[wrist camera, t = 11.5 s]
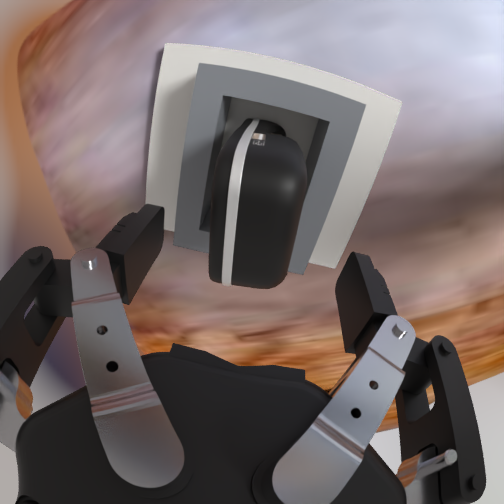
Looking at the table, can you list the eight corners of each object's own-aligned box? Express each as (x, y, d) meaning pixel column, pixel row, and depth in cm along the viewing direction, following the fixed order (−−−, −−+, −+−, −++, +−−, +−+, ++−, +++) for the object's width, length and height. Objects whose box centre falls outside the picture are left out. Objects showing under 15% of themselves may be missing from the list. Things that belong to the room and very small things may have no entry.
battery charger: (283, 206, 23) (286, 310, 13) (236, 199, 23) (206, 299, 13) (298, 121, 19) (322, 166, 9) (245, 113, 19) (212, 150, 9)
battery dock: (397, 100, 17) (426, 108, 13) (333, 262, 26) (342, 298, 22) (170, 44, 16) (142, 37, 12) (148, 219, 25) (126, 249, 21)
